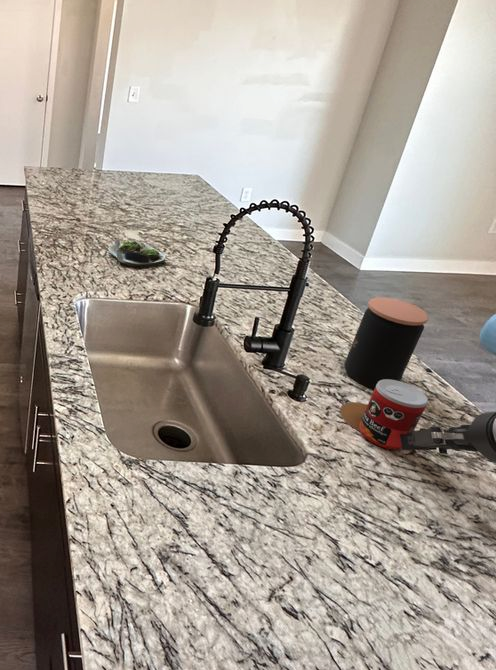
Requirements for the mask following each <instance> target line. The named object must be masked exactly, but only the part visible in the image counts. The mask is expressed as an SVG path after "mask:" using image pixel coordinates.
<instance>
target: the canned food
mask: <svg viewBox="0 0 496 670" xmlns="http://www.w3.org/2000/svg"><path fill="white" fill-rule="evenodd" d="M428 402H429V399H428V396H427V395H426V394H425V393H424V392H423V391H421V390H420V389H419V388H417V387H416V386H413V385H411V384H409V383H406V382H403V381H401V380H400V381H396V380H388V379H386V380H380V381H379V382H378V383H377V385H376V387H375V389H373V392H372V394H371V396H370V398H369V401H368V403H367V404H366V405H367V408H366V410H365V412H364V415H363V417H362V419H361V422H360V431H359V433H360V434H361V436H362V437H364V438H365V439H366V440H368V441H369V442H370V443H371V444H374V445H375V446H378V447H381V448H383V449H386V450H396V451H397V450H403V449H402V446H401V439H400V434H410V433H412V431H416V427H417V425H418V424H419V422H420V420H421V417H422V416H423V414H424V411H425V410H426V407H427V406H428Z"/></svg>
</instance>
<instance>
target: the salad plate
mask: <svg viewBox="0 0 496 670" xmlns="http://www.w3.org/2000/svg"><path fill="white" fill-rule="evenodd" d="M113 242H114V244H112V245H110V246H109V247H108V252H109V253H110V254H111V255H112V256H113V257H115V258H116V259H117V261H118V262H120V263H121V264H122V265H124V266H126V267H132V268H139V269H141V268H153V267H157V266H159V265H161V264H163V263H164V262H165V261H166V255H165V254H164V253H162V252H160V251H159V250H157V249H156V248H155V247H153V246H151V245H150V244H147V243H144V242H137V241H135V240H132V241H130V240H129V241H127V239H125V240H124V241H123V243H121V241H120V240H119V239H115V240H114V241H113Z"/></svg>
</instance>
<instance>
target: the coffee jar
mask: <svg viewBox="0 0 496 670" xmlns="http://www.w3.org/2000/svg"><path fill="white" fill-rule="evenodd" d="M367 306H368V307H367V308H366V310H365V311H364V312H363V315H362V318H361V321H360V323H359V325H358V328H357V330H356V333H355V336H354V338H353V341H352V342H351V346H350V348H349V351H348V353H347V356H346V358H345V361H344V369H345V372H346V374H347V376H348V377H349V378H351V379H352V380H353V381H355V382H356V383H358V384H360V385H362V386H364V387H366V388H370V389H373V390H374V389H375V387H376V385H377V383H378V382H379V381H380V380H386V379H388V380H396V381H400V382H401V380H402V378H403V376H404V373H405V371H406V370H407V367H408V365H409V362H410V361H411V358H412V355H413V353H414V352H415V349H416V347H417V345H418V342H419V341H420V339H421V336H422V334H423V332H424V329H425V324H427V322H428V321H429V318H430V317H429V315H428V313H427V312H426V311H424V310H423V309H422V308H420V307H418V306H417V305H414V304H412V303H409V302H407V301H404V300H400V299H397V298H391V297H382V296H381V297H373V298H371V299H369V301H368V303H367Z"/></svg>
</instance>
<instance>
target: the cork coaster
mask: <svg viewBox="0 0 496 670" xmlns="http://www.w3.org/2000/svg"><path fill="white" fill-rule="evenodd" d="M367 405H368V404H366V403H361V402H347V403H344V404H343V405H342V406H341V407H340V410H339V413H340V416H341V418H342V419H343V420H344V422H346V423H347V424H348V425H349V426H350V427H351V428H353V429H355V431H358V432H360V422H361V419H362V417H363V415H364V412H365V410H366V408H367Z"/></svg>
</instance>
